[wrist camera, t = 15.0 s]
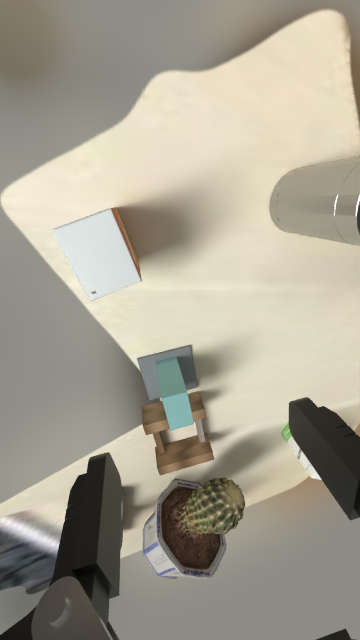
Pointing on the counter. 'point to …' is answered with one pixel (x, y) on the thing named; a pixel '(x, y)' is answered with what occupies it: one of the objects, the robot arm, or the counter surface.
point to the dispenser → (182, 450)
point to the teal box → (174, 394)
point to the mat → (149, 362)
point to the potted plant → (191, 527)
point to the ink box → (299, 453)
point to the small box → (99, 253)
